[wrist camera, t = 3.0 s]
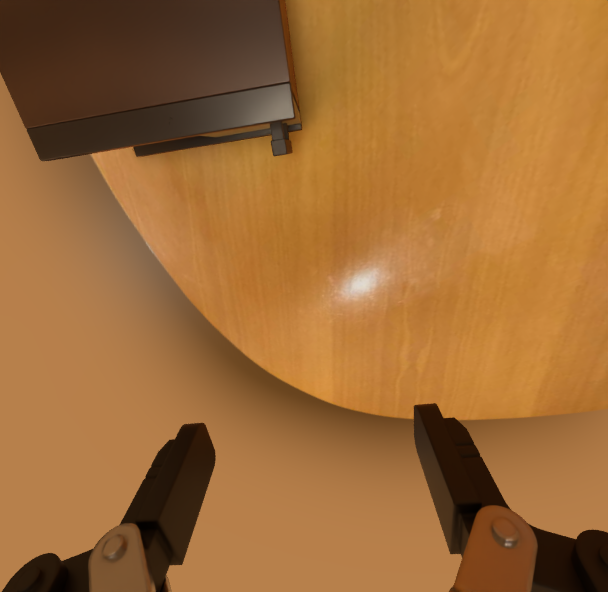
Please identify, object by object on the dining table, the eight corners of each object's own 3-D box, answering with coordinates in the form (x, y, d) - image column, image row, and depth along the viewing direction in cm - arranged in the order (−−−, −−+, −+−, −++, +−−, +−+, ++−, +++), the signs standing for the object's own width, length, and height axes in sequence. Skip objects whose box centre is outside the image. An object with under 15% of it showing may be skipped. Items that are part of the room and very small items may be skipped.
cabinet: (302, 129, 30) (295, 118, 18) (139, 156, 31) (39, 161, 20) (284, -6, 26) (261, -128, 14) (98, 31, 27) (-57, -53, 16)
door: (304, 151, 30) (300, 152, 20) (221, 164, 30) (179, 171, 21) (299, 113, 28) (293, 95, 19) (212, 127, 29) (164, 117, 19)
